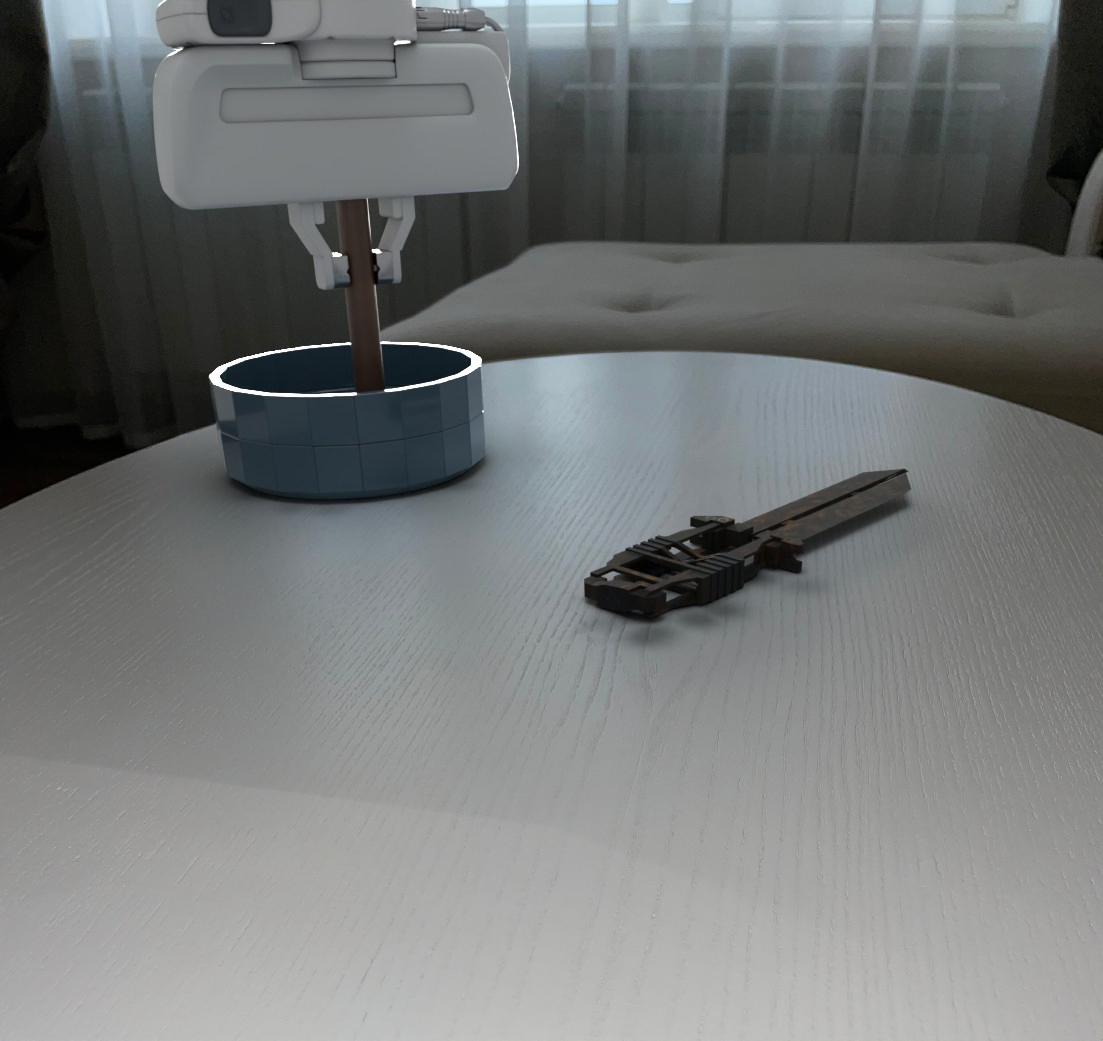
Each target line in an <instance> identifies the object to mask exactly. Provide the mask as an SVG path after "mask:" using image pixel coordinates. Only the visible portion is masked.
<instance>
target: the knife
mask: <svg viewBox="0 0 1103 1041" xmlns="http://www.w3.org/2000/svg"><path fill="white" fill-rule="evenodd" d="M907 473H909V470H907V469H906V468H897V469H886V470H885V469H884V470H875V471H874V470H873V471H863V472H861V473H858V474H856V475H854V476H850V477H848V478H847V479H844V480H841V481H839V482H836V483H834V484H832V485H829V486H827V487H824V488H822V489H819V490H818V491H815V492H813V493H810V494H807V495H806V496H802V497H800V498H798V499H796V500H792V501H790V502H788V503H786V504H784V505H781V506H778V507H776V508H774V509H772V510H769V511H766V512H764V513H762V514H760V515H757V516H754V517H753V518H750V519H748V520H745V521H743V522H736V519H735V518H732V517H728V516H724V515H693V516H690V518H689V527H691V528H689V529H682V530H680V531H677V532H675V533H672V534H670V535H665V536H664V535H663V536H662V535H660V534H658V535H655V536H654V538H653V537H650V538H648V539H647V541H646V540H643V541H641V542H640V543H635V544H633V545H632V547H631V546H628V547H625V549H624V550H621V551H620V552H618V553H615V554H613V556H612V558H611V559H610V560H608V561H607V562H606V565H604V566H602V567H600V568H597V569H595V570H592V571H590V573H589V575H590V576H588V577H585V578H583V595H584V596H583V597H584V598H585V599H589V600H592V601H594V602H595V603H596V606H597V607H600V608H601V609H606V610H607V609H608V610H611V611H616V612H620V613H624V612H629V611H637V612H640V613H642V616H643V617H646V618H649V619H651V618H653V617H656V616H658V615H660V614H662V613H664V612H667V611H668V610H671V609H675V608H680V607H685V606H689V605H694V604H695V605H696V604H697V605H701V606H702V605H705V604H706V603H713V602H716V599H718V600H719V599H722V598H723V596H728V595H730V592H731V593H734V592H736V591H737V589H742V588H744V585H745V584H744V583H745V581H747V580H749V579H752V578H754V577H756V575H757V574H758V572H759V570H760V569H761V568H763V567H764V566H766V565H768V564H770V565H774V566H775V565H778V568H780V569H783V570H787V571H791V572H795V573H800V572H802V571H803V560H799V559H797V558H796V557H795V555H797V556H800V555H803V554H804V548H805V547H804V546H805V543H804V542H803V541H804V540H806V539H808V538H810V537H812V536H815V535H817V534H819V533H821V532H824V531H826V530H828V529H829V528H833V527H834V526H836V525H839V524H841V523H843V522H845V521H848V520H850V519H853V518H854V517H857V516H859V515H861V514H863V513H865V512H868V511H870V510H872V509H874V508H876V507H878V506H881V505H883V504H886V503H888V502H890V501H891V500H894V499H896V498H898V497H901V496H902V495H904V494H907V493H908V492H910V491H912V487H911V483H910V480H909V477H908V474H907ZM688 541H689V544H693V545H697V546H701V547H698V548H691V547H690V546H688V545H687V544H685V543H686V542H688ZM729 547H730V548H735V549H732V550H730V551H727V552H725V553H724V552H719V553H715V554H710V555H706V554H708V553H711V552H713V551H716V550H718V549H721V550H725V549H727V548H729ZM672 548H673V549H676V550H678V552H677V553H673V552H672ZM752 557H753V562H750V563H748V564H746V560H747V559H749V558H752ZM676 571H680V573H677V574H675V575H672V576H670V577H667V578H666V579H665V578H662V577H659V576H662V575H664V574H665V573H671V572H676ZM612 572H613V573H617V574H616V575H614V576H613V578H612V579H611V580H608V578H607V577H604V576H605V575H607V574H610V573H612ZM687 583H696V586H695V588H694V587H692V586H688V585H684V584H687ZM666 589H667V590H670V591H673V592H676V593H680V594H679V595H677V596H675V597H674V598H671V599H669V600H667V599H668V598H667V594H668V592H666V591H663V590H666Z"/></svg>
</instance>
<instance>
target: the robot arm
mask: <svg viewBox="0 0 1103 1041" xmlns="http://www.w3.org/2000/svg"><path fill="white" fill-rule="evenodd" d="M155 22H156V29H157V33H158V36H159V39H160V40H161V43H162V44H163V45H164V46H166V47H167V48H168V49H172V50H174V51H173V52H171V53H169V54H168V55H166V56H165V57H164V58H163V59H162V60H161V62H160V63H159V64H158V66H157V69H156V71H155V75H154V78H153V85H152V86H153V88H152V117H153V118H152V119H153V133H154V145H155V146H154V148H155V156H156V163H157V171H158V176H159V182H160V185H161V188H162V190H163V192H164V193H165V194H166V196H167V197H168V198H169V199H170V201H172V202H173V203H174V204H175V205H176V206H178V207H179V208H182V209H186V210H190V211H191V210H194V211H195V210H211V209H212V210H213V209H228V208H242V207H259V206H260V207H261V206H272V205H275V206H277V205H286V206H287V211H288V212H287V213H288V220H289V225H290V227H292V229H293V231H294V232H295V234H296V235H297V237H298V238H299V240H300V241H301V243H302V244H303V245H304V247H305V248H306V250H307V251H308V252H309V255H311V256H312V258H313V266H314V275H315V282H316V285H317V287H318V289H320V290H324V291H328V290H329V291H331V290H338V289H345V288H348V287H349V286H350V276H349V275H348V273H347V270H348V268H349V266H348V257H347V255H343V254H341V253H338V252H333V251H332V250H331V248H330V247H329V245H328V243H327V242H326V240H325V238H323V235H322V234H321V232H320V230H319V229H318V227H317V226H316V225H324V224H325V222H326V221H325V220H326V218H325V209H324V208H325V207H324V202H335V201H338V200H353V199H367V200H368V199H377V200H378V211H379V216H381V217H384V218H388V219H387V221H386V225H385V228H384V231H383V233H382V235H381V239H380V241H379V243H378V246H377V248H375V249H372V253H373V264H374V274H375V285H376V286H377V285H390V284H401V282H402V276H403V275H402V263H401V252H400V251H402V250H403V248H404V246H405V243H406V241H407V238H408V236H409V234H410V232H411V229H412V227H413V225H414V222H415V220H416V206H415V197H416V196H428V195H443V194H458V193H459V194H461V193H474V192H476V193H477V192H491V191H505V190H507V189H509V187H510V186H511V184H512V183H513V181H514V179H515V177H516V175H517V173H518V172H519V164H520V163H519V150H518V140H517V130H516V123H515V116H514V109H513V104H512V99H511V92H510V87H509V82H510V77H511V57H510V44H509V40H508V39H509V38H508V37H507V34H506V33H505V31H504V29H503V28H502V26H500V24H499V23H498V22H497V21H495V20H494V19H493V18H491V17H489V16H487V15H486V12H485V11H484V10H483V9H481V8H476V7H461V8H459V9H453V8H451V9H449V8H443V7H438V6H437V7H436V6H434V7H433V6H428V7H427V6H416V0H163V1H161V2H160V3H159V4H158V6H156V9H155ZM486 26H487V27H488V28H491V29H492V30H491V31H490V30H486V31H485V30H484V29H485V28H486ZM455 30H456V31H455ZM175 50H176V51H175Z"/></svg>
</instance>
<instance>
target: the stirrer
mask: <svg viewBox="0 0 1103 1041" xmlns="http://www.w3.org/2000/svg"><path fill="white" fill-rule="evenodd" d="M334 202H335V211H336V212H335V213H336V219H337V220H336V222H337V229H338V230H337V231H338V239H339V240H338V241H339V250H340V254H343V255H347V257H348V266H349V268H348V270H347V273H348V275H349V276H350V286H349V287H348V288H344V295H345V304H346V314H347V325H348V332H349V341H350V342H349V343H351V352H352V362H353V371H354V380H355V390H356V393H360V392H370V391H379V390H385V380H384V370H383V359H382V349H381V342H382V340H381V331H380V330H381V329H380V319H379V309H378V308H379V307H378V296H377V287H376V286H377V284H375V274H374V264H373V253H372V250H373V245H372V244H373V243H372V233H371V222H370V213H369V202H368V199H353V200H338V201H334Z"/></svg>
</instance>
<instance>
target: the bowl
mask: <svg viewBox="0 0 1103 1041" xmlns="http://www.w3.org/2000/svg"><path fill="white" fill-rule="evenodd" d="M381 349H382V359H383V370H384V380H385V390H379V391H370V392H360V393H356V390H355V380H354V371H353V362H352V352H351V343H350V342H345V343H344V342H343V343H332V344H331V343H330V344H321V345H309V346H308V345H307V346H299V347H295V348H294V347H293V348H287V349H281V350H280V349H279V350H275V351H267V352H264V353H259V354H255V355H251V356H246V357H242V358H237V359H236V360H233V361H231V362H228V363H226V364H223V365H221V366H218V367H216V368H215V370H213V371H212V372H211V373H210V374H209V375H208V383H209V389H210V390H209V391H210V395H211V401H212V406H213V415H214V420H215V426H216V431H217V437H218V445H219V449H220V450H219V451H220V456H221V461H222V462H221V463H222V465H223V468H224V470H225V473H226V475H227V477H229V478H232V479H233V480H236V481H238V482H240V483H242V484H243V485H245V486H247V487H248V488H250V489H252V490H255V491H257V492H260V493H264V494H268V495H274V496H277V497H285V498H291V499H301V500H355V499H368V498H369V499H370V498H378V497H384V496H385V497H386V496H392V495H398V494H405V493H409V492H414V491H419V490H422V489H423V490H424V489H427V488H430V487H434V486H437V485H441V484H443V483H446V482H448V481H451V480H453V479H456V478H457V477H460V476H461V475H463V474H465V473H466V472H467V471H468V470H469V469H471V468H472V467H473V466H475V465H476V464H477V463H478V462H479V461H481V460H482V459H483V458H484V457H485V456H486V454H487V436H486V435H487V434H486V418H485V402H484V400H485V398H484V382H483V381H484V380H483V365H482V364H483V362H482V358H481V357H480V356H478V355H476V354H475V353H473V352H472V351H470V350H465V349H461V348H457V347H453V346H448V345H441V344H432V343H421V342H398V341H397V342H396V341H395V342H394V341H392V342H391V341H381Z"/></svg>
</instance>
